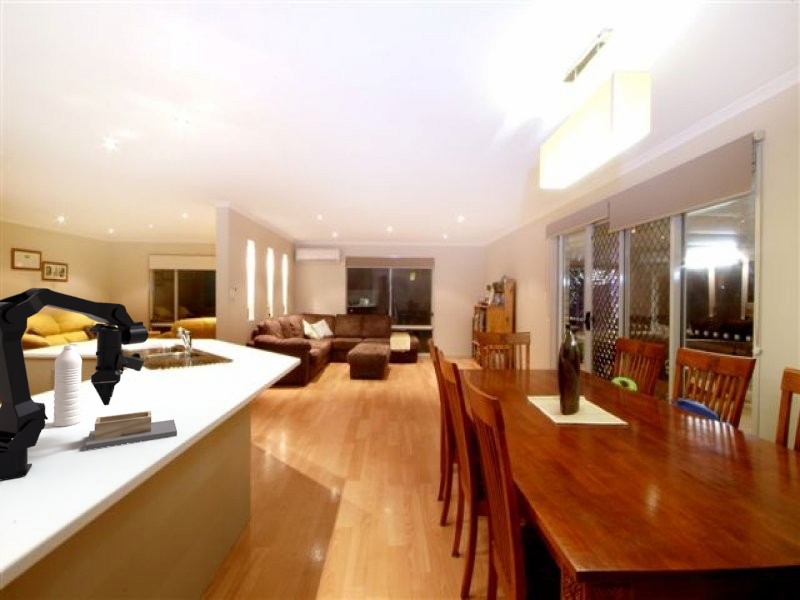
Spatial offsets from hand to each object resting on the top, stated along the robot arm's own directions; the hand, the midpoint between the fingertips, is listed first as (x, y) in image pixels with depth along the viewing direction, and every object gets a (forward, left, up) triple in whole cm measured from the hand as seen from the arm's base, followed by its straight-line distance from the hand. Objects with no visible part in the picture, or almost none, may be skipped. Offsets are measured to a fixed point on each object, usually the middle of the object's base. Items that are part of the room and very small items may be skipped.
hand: (108, 401), depth 110 cm
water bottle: (+22, +11, -11) cm, 27 cm away
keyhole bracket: (-2, -4, -9) cm, 10 cm away
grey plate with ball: (-2, -6, -11) cm, 12 cm away
